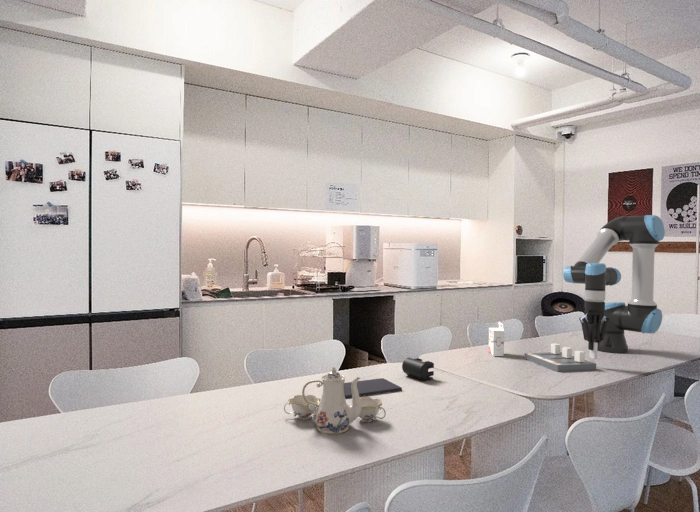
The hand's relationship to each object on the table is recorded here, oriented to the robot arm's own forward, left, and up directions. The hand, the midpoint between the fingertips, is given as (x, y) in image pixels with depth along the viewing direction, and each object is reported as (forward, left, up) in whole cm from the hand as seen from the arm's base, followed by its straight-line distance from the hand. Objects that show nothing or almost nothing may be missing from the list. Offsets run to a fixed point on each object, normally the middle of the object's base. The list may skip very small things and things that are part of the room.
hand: (593, 357), depth 196 cm
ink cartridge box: (+27, -29, -4) cm, 40 cm away
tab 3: (+6, 0, -1) cm, 7 cm away
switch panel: (+10, -8, -4) cm, 14 cm away
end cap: (+77, +1, -4) cm, 78 cm away
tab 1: (+6, -15, -1) cm, 16 cm away
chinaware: (+117, +40, -4) cm, 124 cm away
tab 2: (+6, -8, -1) cm, 10 cm away
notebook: (+101, +11, -5) cm, 101 cm away
